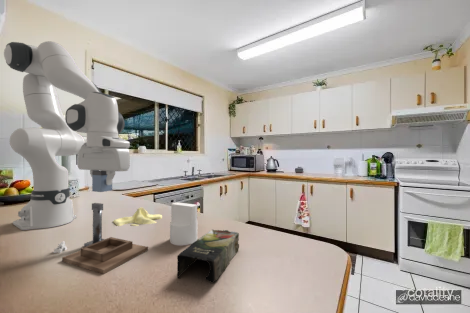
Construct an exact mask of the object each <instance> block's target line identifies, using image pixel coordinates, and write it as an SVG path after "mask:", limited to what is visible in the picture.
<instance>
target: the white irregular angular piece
mask: <svg viewBox="0 0 470 313" xmlns="http://www.w3.org/2000/svg"><path fill="white" fill-rule="evenodd" d="M66 250H68V247H67V246H66V242H65V240H63V241H61V242H60V243H58V246H57V247H56V248H54V249H53V252H52V253H53V254H54V253H55V254H56V253H57V254H61V253H62V252H63V251H66Z"/></svg>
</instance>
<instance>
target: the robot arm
mask: <svg viewBox="0 0 470 313" xmlns="http://www.w3.org/2000/svg"><path fill="white" fill-rule="evenodd" d="M3 57H4V60H5V62H6V64H7V66H8V67H10V69H12V70H14V71H17V72H20V73H27V74H25V75H24V77H23V79H22V94H23V95H22V96H23V100H24V104H25V109H26V115H27V116H28V118H29V119H30V120H31V121H32V122H34V123H36V124H37V125H39V126H40V127H21V128H17V129H16V130H14V131H12V133H11V135H9V145H10V148H11V149H12V150H13V151H14V152H15V153H17V154H18V155H20V156H21V157H23V159H25V161H26V162H27V164H28V165H29V167H30V168H31V172H32V179H33V180H32V181H33V189H32V191H31V193H30V201H28V202H27V203H26V204H25V205H24V206H23V207H22V208H21V210H19V211H18V213H17V216H18V217H19V219H16V220H13V221H12V225H14V226H15V227H16V228H18V229H19V230H21V231H26V230H36V229H47V228H53V227H59V226H62V225H66V224H70V223H71V222H73V221H74V219H76V218H77V215H76V214H74V205H73V204H74V203H73V199H71V198H70V196H71V194H70V193H71V191H70V187H69V170H68V169H67V167H65V166H63V165H60V164H59V163H58V160H57V159H56V157H69V156H74V155H78V156H77V168H78V169H79V170H80V171H81V170H84V171H89V174H90V176H91V178H92V171H106V174H108V175H107V178H106V179H104V184H105V185H112V186H113V179H114V178H115V175H116V172H127V171H129V169H130V166H131V165H130V164H131V154H130V150H129V148H130V147H131V146H130V144H131V142H130V141H129V140H126V139H124V138H121V137H119V134H122V132H123V131H124V129H125V125H126V124H125V119H124V117H123V115H122V114H121V112H120V111H119V106H118V102H117V99H116V97H114V95H111V94H108V93H105V92H104V93H103V92H102V90H100V88H99V87H98V86H97V85H96V84H95V83H94V82H93V81H92V80H90V78H89V77H88V76H86V74H85V73H84V72H83V70H82V69H81V68H80V67H79V66H78V64H77V63H76V61H75V59H74V58H73V56H72V55H71V53H70V52H69V51H68V50H67V49H66V48H65V47H64V46H63V45H61V44H60V43H58V42H55V41H44V42H42V43H40V44H38V46H35V45H30V44H27V43H24V42H19V41H18V42H17V41H11V42H9V43H7V44H6V45H5V48H4V51H3ZM57 89H59V90H61V91H64V92H67V93H70V94H73V95H75V96H76V97H79V98H81V99H83V101H81V102H79V103H74V104H73V105H71V106H69V107H68V108H67V109H66V111H65V116H64V114H63V110H62V107H61V103H60V98H59V94H58V92H57ZM79 133H81V134H86V141H85V139H84V137H83V136H82V135H81V134H79Z"/></svg>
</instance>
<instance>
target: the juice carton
mask: <svg viewBox="0 0 470 313" xmlns="http://www.w3.org/2000/svg"><path fill="white" fill-rule="evenodd" d="M239 236H240V234H239V232H237V231H229V230H228V229H226V230H224V229H223V230H219V229H215V230H214V229H211V230H209V231H207V232H206V233H205V234H203V235H202V236H201V237H199V238H197V240H196V241H195V242H194V243H192V244H189V246H188V247H186V248H185V249H183V250H182V251H181V252H180V253H179V254H178V255H177V256H176V259H177V262H176V263H177V268H176V269H177V271H176V272H177V273H176V276H177V277H176V278H177V279H180V276H182V274H183V273H184V272H185V271H187V270H188V269H189V267H191V266H192V265H193V264H194V263H195V262H196V261H197V260H198V261H205V262H207V263H208V265H209V271H208V274H207V275H206V277H205V280H206V281H208V282H210V283H215V281H218V280H219V277H220V276H221V275H222V273H223V272H225V271H226V269H227V268H228V265H229V264H230V262H231V261H232V259H233V258H234V256H235V255H236V254H237V252H239V249H240V243H239V239H240V237H239Z"/></svg>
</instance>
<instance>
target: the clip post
mask: <svg viewBox="0 0 470 313" xmlns="http://www.w3.org/2000/svg"><path fill="white" fill-rule="evenodd" d="M91 210H92V240H91V241H88V242H84V244H83V247H86V246H89V245H91V244H94V243H97V242H99V241H102V240H105V239H106V238H103V237H102V236H103V235H102V233H103V232H102V230H103V229H102V228H103V227H102V226H103V218H102V217H103V211H104V203H101V202H100V203H99V202H94V203H91Z"/></svg>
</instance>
